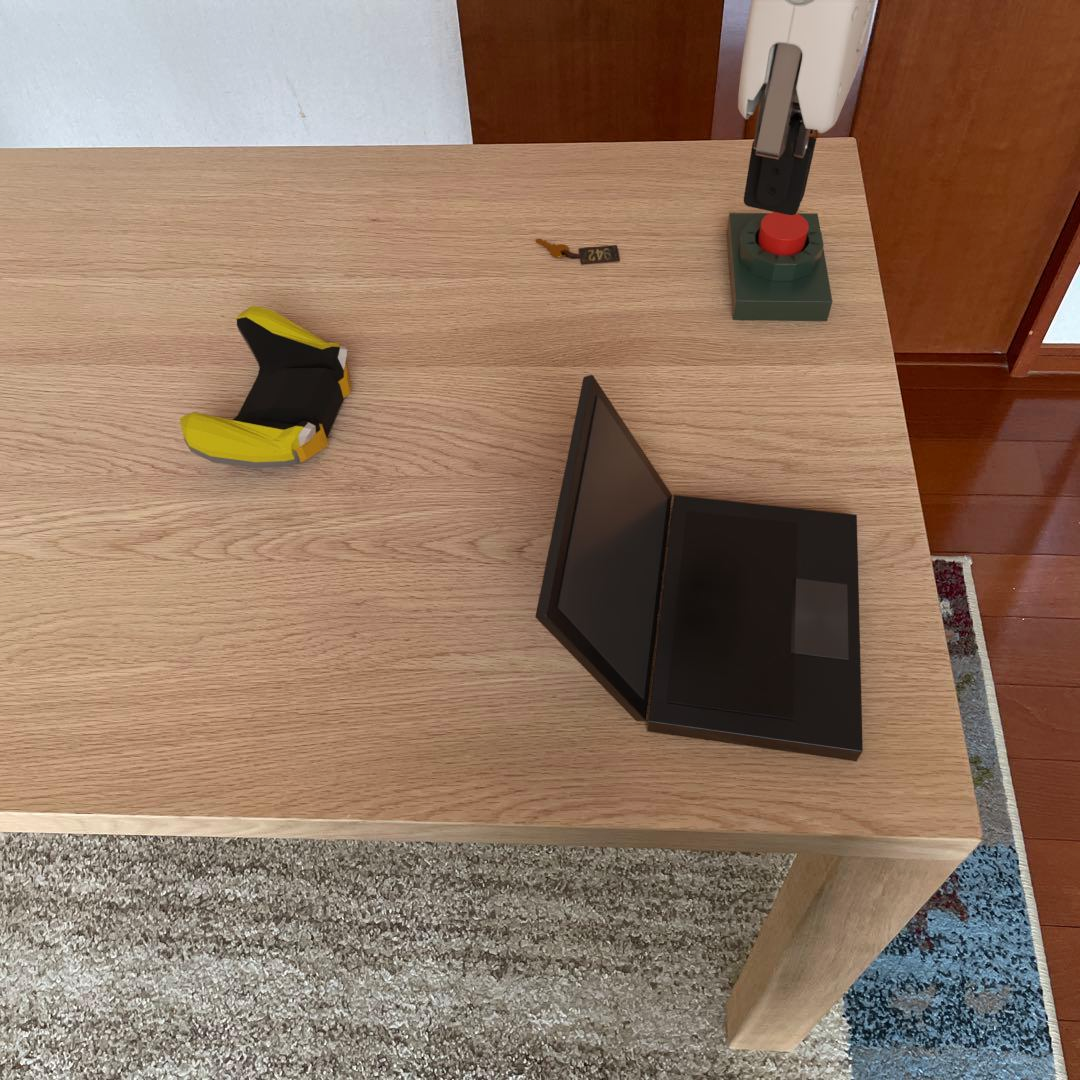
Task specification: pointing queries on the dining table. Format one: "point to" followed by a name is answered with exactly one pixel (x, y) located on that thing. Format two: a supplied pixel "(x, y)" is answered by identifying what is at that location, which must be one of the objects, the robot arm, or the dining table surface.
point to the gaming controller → (276, 398)
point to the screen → (607, 553)
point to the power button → (783, 233)
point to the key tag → (584, 253)
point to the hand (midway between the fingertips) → (772, 202)
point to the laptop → (760, 629)
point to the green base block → (776, 274)
